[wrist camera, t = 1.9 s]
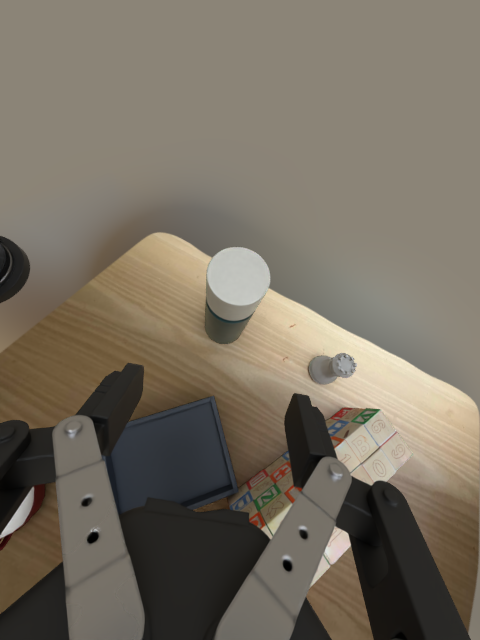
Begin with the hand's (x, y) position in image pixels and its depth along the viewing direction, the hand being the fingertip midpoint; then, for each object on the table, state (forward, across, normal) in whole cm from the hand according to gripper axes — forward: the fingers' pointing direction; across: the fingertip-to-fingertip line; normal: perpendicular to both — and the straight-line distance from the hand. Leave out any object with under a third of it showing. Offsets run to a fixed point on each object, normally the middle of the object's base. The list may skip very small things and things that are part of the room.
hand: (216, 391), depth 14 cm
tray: (+12, +4, +24) cm, 27 cm away
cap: (+16, 0, +1) cm, 17 cm away
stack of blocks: (+14, -14, +23) cm, 31 cm away
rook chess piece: (+24, -16, +13) cm, 31 cm away
